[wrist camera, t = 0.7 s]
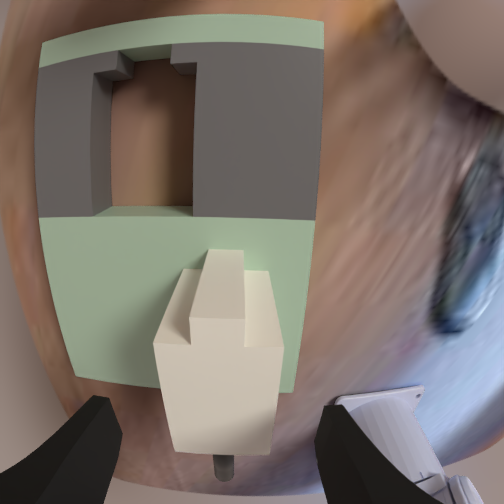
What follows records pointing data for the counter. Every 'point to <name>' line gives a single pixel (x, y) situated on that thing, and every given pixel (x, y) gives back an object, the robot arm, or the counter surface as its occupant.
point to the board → (204, 179)
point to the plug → (221, 361)
